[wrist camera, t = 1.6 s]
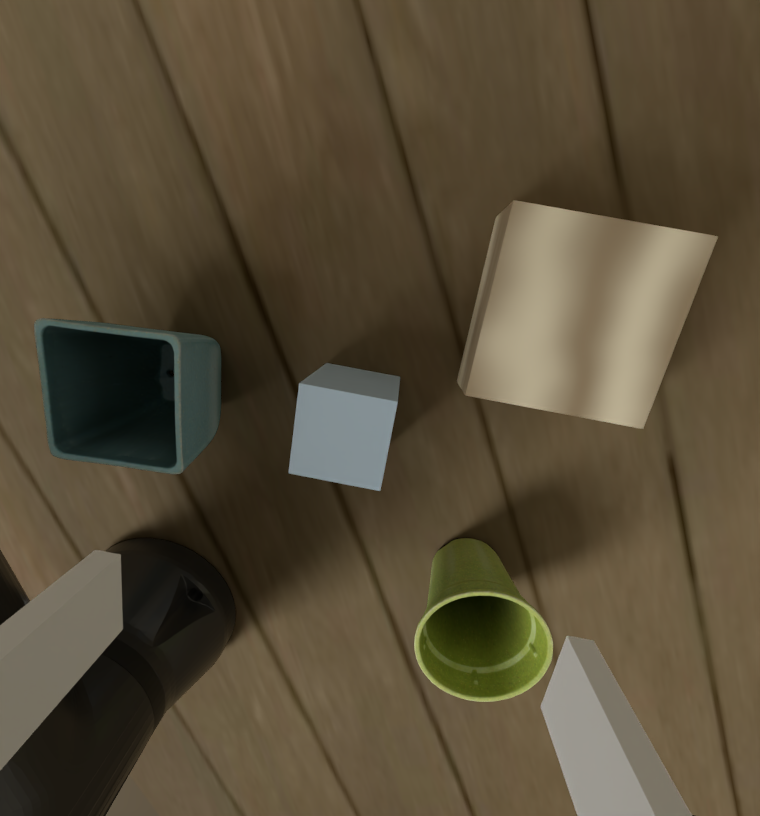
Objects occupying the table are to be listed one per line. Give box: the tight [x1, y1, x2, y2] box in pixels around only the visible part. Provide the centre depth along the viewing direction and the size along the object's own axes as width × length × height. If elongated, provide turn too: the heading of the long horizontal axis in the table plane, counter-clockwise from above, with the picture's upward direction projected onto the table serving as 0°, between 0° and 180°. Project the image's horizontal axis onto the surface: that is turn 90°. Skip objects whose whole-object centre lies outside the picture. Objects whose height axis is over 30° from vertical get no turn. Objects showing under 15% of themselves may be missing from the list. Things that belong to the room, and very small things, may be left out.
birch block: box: [457, 200, 718, 429], centre depth 26 cm, size 12×12×5 cm
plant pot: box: [414, 538, 553, 702], centre depth 30 cm, size 9×9×9 cm
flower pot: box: [34, 318, 221, 474], centre depth 27 cm, size 9×9×9 cm
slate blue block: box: [288, 363, 400, 491], centre depth 27 cm, size 6×6×8 cm
